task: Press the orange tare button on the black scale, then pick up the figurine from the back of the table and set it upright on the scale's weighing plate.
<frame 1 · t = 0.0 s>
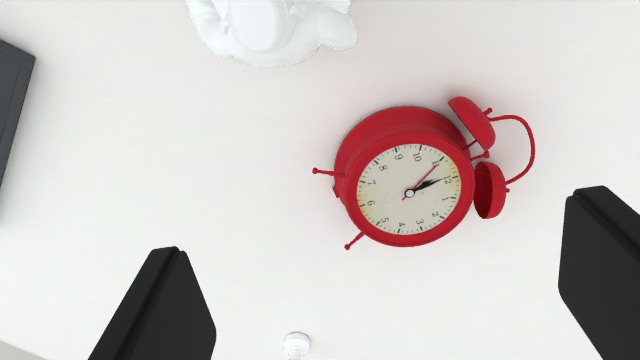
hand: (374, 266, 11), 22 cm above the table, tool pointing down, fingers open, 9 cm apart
alarm clock: (421, 161, 34), on the table
chess pawn: (297, 339, 43), on the table
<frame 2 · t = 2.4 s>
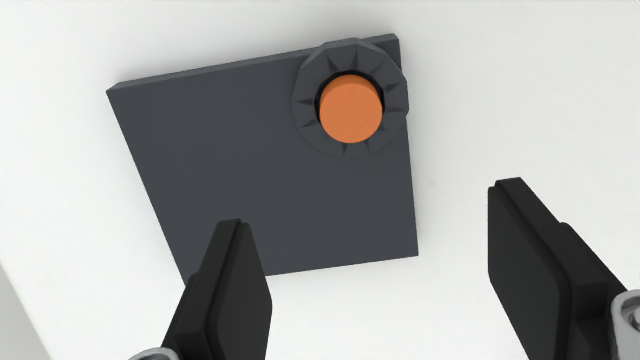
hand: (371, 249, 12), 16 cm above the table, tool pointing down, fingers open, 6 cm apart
scale: (279, 168, 28), on the table
tare button: (350, 108, 22), point 4 cm above the table, slide at 0.1 cm
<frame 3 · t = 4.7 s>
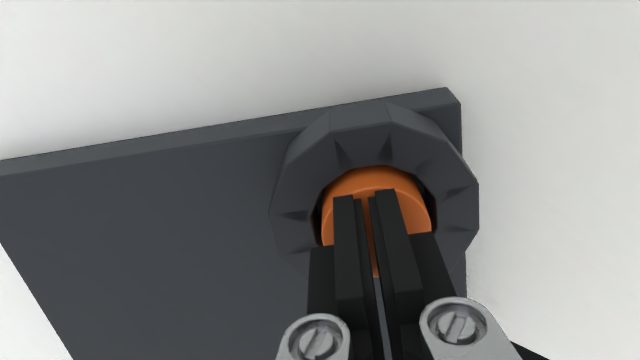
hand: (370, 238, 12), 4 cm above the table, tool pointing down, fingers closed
scale: (258, 282, 18), on the table
tare button: (373, 217, 13), point 3 cm above the table, slide at -0.6 cm, touching gripper
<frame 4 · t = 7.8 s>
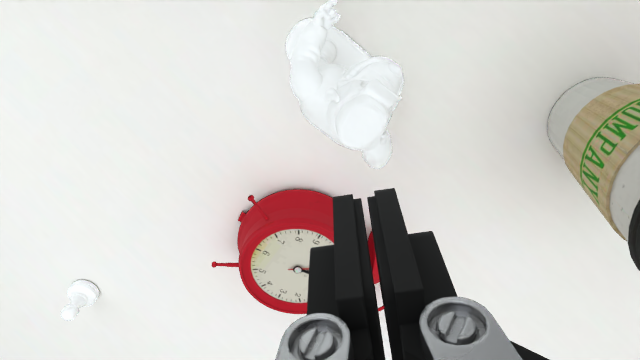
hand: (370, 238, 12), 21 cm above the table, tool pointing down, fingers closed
alarm clock: (317, 246, 38), on the table
chess pawn: (86, 288, 41), on the table
coffee cup: (588, 117, 33), on the table
figurine: (347, 65, 31), on the table
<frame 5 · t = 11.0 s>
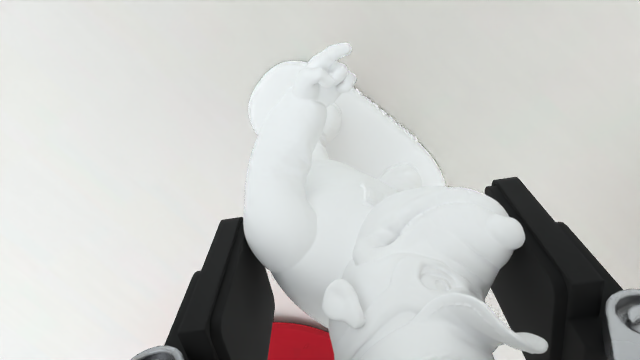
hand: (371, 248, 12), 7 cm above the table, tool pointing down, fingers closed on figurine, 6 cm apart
figurine: (358, 139, 18), on the table, touching gripper
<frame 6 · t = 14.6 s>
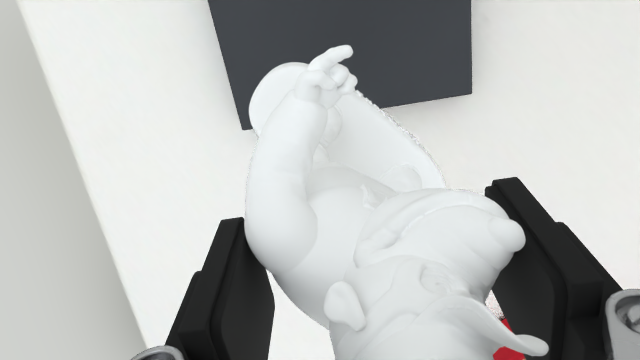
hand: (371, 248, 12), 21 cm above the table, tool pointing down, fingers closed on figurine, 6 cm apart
alarm clock: (542, 350, 43), on the table
scale: (338, 3, 29), on the table
figurine: (358, 140, 18), point 14 cm above the table, touching gripper
when the fingers open (9 cm above the table, at t = 18.5 s): figurine stays where it is, resting on scale.
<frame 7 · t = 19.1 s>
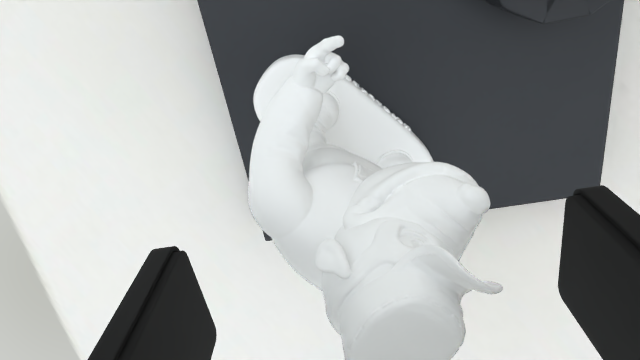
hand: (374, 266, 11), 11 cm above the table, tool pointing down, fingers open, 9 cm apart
scale: (408, 66, 20), on the table
figurine: (355, 128, 19), point 2 cm above the table, touching scale
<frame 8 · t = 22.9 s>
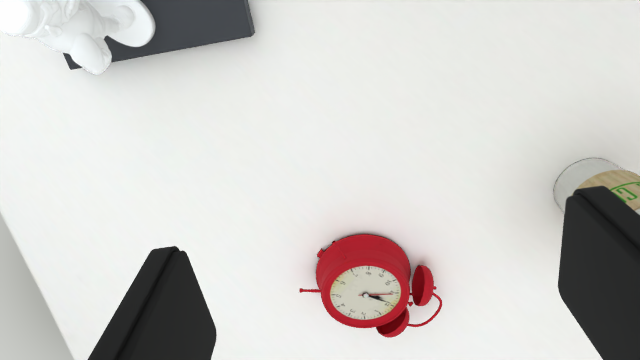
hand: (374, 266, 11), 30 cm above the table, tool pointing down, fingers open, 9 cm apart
alarm clock: (375, 275, 50), on the table
coffee cup: (584, 185, 44), on the table
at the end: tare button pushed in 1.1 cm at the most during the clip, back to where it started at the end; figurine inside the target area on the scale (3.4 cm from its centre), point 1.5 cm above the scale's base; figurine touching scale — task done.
